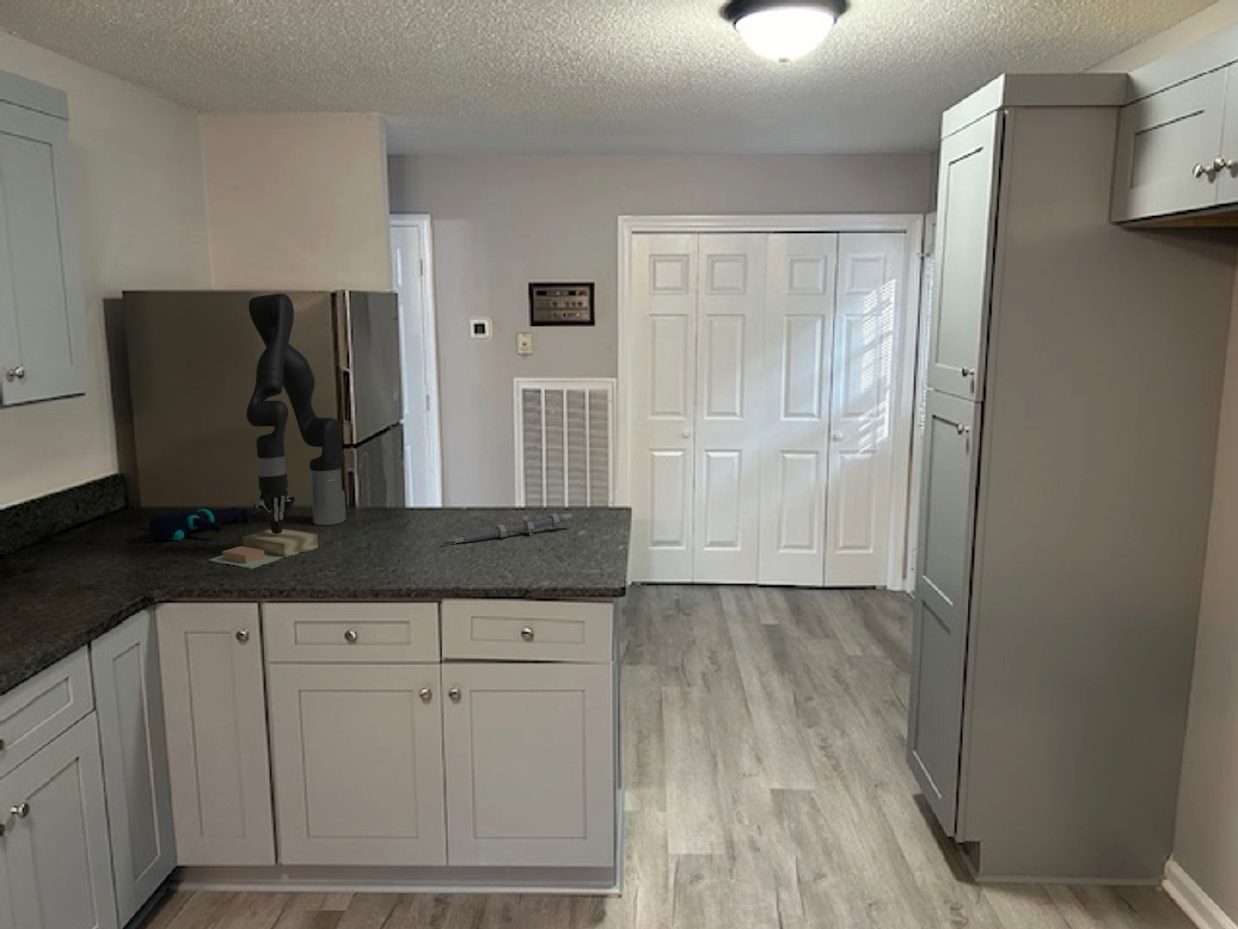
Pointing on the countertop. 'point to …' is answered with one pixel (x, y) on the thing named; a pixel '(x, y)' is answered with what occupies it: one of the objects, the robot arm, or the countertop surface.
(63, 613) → the countertop surface
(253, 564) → the mat
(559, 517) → the adjustable rod
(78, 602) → the countertop surface
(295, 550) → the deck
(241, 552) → the tile
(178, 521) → the toy
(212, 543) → the countertop surface
